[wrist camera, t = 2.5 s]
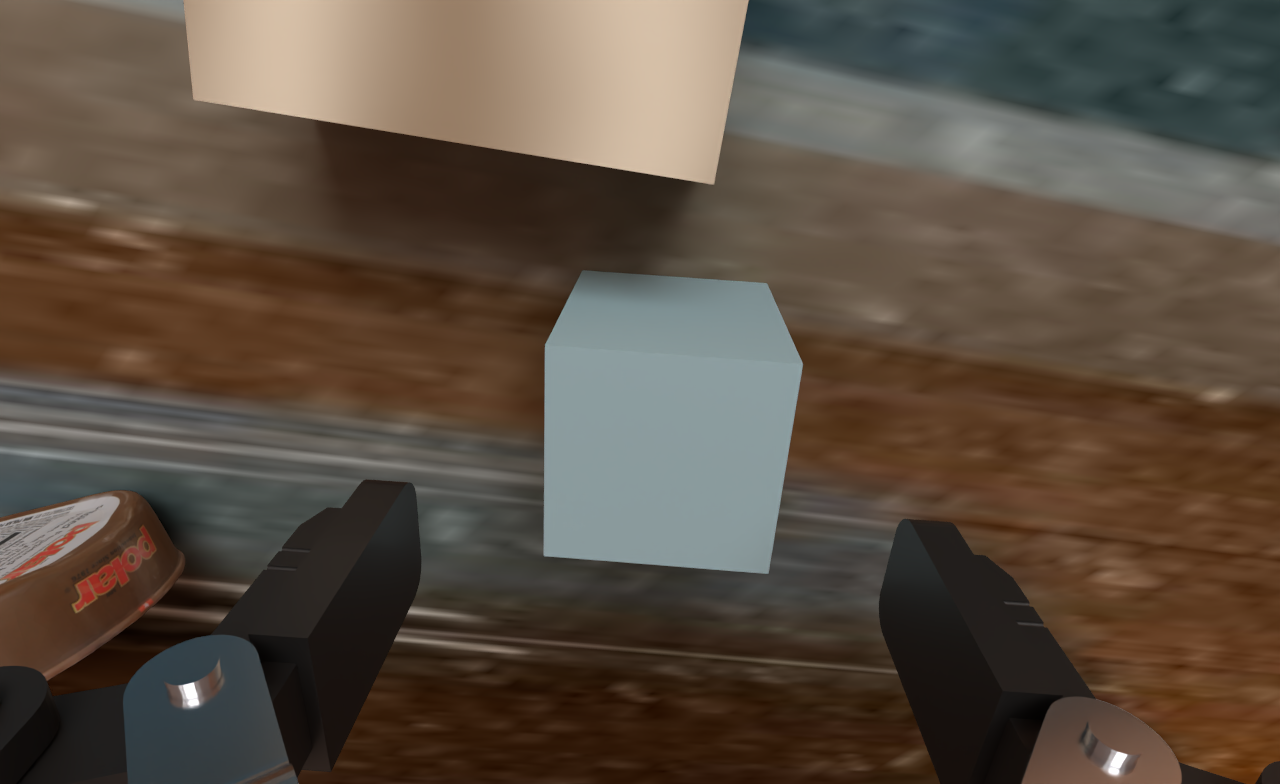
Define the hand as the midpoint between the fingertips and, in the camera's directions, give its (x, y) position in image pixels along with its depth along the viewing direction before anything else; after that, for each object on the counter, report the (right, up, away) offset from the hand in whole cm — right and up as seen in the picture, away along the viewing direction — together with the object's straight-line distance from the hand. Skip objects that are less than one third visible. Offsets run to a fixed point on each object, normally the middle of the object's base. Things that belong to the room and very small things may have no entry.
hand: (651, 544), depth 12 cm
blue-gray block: (+1, +3, +8) cm, 9 cm away
